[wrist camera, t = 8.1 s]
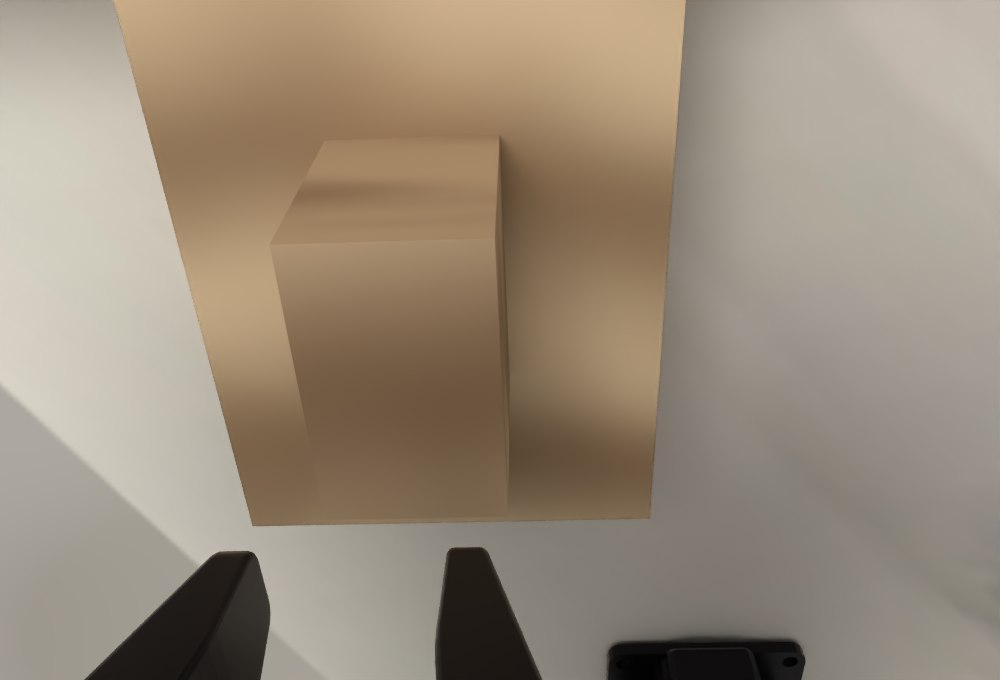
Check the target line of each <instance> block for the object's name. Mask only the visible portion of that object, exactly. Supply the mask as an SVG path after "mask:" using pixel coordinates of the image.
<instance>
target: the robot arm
mask: <svg viewBox="0 0 1000 680" xmlns="http://www.w3.org/2000/svg"><path fill="white" fill-rule="evenodd" d="M269 625H270V603H269V599H268V595H267V591H266V588H265V584H264V580H263V576H262V573H261V569H260V565H259V561H258V559H257V557H256V555H255V554H254V553H252V552H249V551H227V552H218V553H216V554H214V555H212V556H211V557H210V558H209V559H208V560H207V561H206V562H205V563H203V564H202V565H201V566H200V567H199V568H198V569H197V570H196V571H195V572H194V573H193V574H192V575H191V576H190V577H189V578H188V579H187V580H186V581H185V582H184V583H183V584H182V585H181V586H180V587H179V588H178V589H177V590H176V591H175V592H174V593H173V594H172V595H171V596H170V597H169V598H168V599H167V600H166V601H165V602H163V604H162V605H160V606H159V607H158V608H157V609H156V610H155V611H154V612H153V613H152V614H151V615H150V616H149V617H148V618H147V619H146V620H145V621H144V622H143V623H142V624H141V625H140V626H139V627H138V628H137V629H136V630H135V631H134V632H133V633H132V634H131V635H130V636H129V637H128V638H127V639H126V640H125V641H123V642H122V644H120V645H119V646H118V647H117V648H116V649H115V650H114V651H113V652H112V653H111V654H110V655H109V656H108V657H107V658H106V659H105V660H104V661H103V662H102V663H101V664H100V665H99V666H98V667H97V668H96V669H95V670H94V671H93V672H92V673H91V674H90V675H89V676H88V677H87V678H86V679H85V680H260V679H261V673H262V668H263V661H264V656H265V650H266V644H267V638H268V632H269ZM804 665H805V657H804V654H803V651H802V648H801V647H800V645H798V644H796V643H792V642H760V643H691V644H623V645H617V646H614V647H612V648H611V649H610V650H609V651H608V654H607V680H801V678H802V674H803V670H804ZM435 667H436V680H542V678H541V676H540V673H539V671H538V669H537V666H536V664H535V662H534V659H533V657H532V655H531V652H530V650H529V648H528V645H527V643H526V640H525V638H524V636H523V633H522V631H521V629H520V626H519V624H518V622H517V619H516V617H515V615H514V612H513V610H512V608H511V605H510V603H509V601H508V598H507V596H506V594H505V591H504V589H503V587H502V584H501V582H500V580H499V577H498V575H497V573H496V570H495V568H494V566H493V563H492V561H491V559H490V556H489V554H488V552H487V551H486V550H485V549H484V548H481V547H469V548H451V549H450V550H449V551H448V553H447V557H446V563H445V571H444V578H443V585H442V593H441V600H440V607H439V615H438V622H437V629H436V640H435Z"/></svg>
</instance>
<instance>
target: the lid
mask: <svg viewBox="0 0 1000 680" xmlns="http://www.w3.org/2000/svg"><path fill="white" fill-rule="evenodd" d="M685 3H686V0H114V4H115V8H116V11H117V15H118V19H119V23H120V27H121V30H122V34H123V38H124V42H125V45H126V49H127V53H128V57H129V61H130V64H131V68H132V72H133V76H134V79H135V83H136V87H137V91H138V95H139V98H140V102H141V106H142V110H143V113H144V117H145V121H146V125H147V129H148V132H149V136H150V140H151V144H152V147H153V151H154V155H155V159H156V162H157V166H158V170H159V174H160V178H161V181H162V185H163V189H164V193H165V196H166V200H167V204H168V208H169V212H170V215H171V219H172V223H173V227H174V230H175V234H176V238H177V242H178V246H179V249H180V253H181V257H182V261H183V264H184V268H185V272H186V276H187V280H188V283H189V287H190V291H191V295H192V298H193V302H194V306H195V310H196V314H197V317H198V321H199V325H200V329H201V332H202V336H203V340H204V344H205V347H206V351H207V355H208V359H209V363H210V366H211V370H212V374H213V378H214V381H215V385H216V389H217V393H218V397H219V400H220V404H221V408H222V412H223V415H224V419H225V423H226V427H227V431H228V434H229V438H230V442H231V446H232V449H233V453H234V457H235V461H236V465H237V468H238V472H239V476H240V480H241V483H242V487H243V491H244V495H245V499H246V502H247V506H248V510H249V514H250V517H251V521H252V525H253V526H285V525H337V524H390V523H442V522H494V521H546V520H598V519H650V505H651V490H652V476H653V462H654V447H655V433H656V419H657V404H658V390H659V376H660V361H661V347H662V333H663V318H664V304H665V290H666V275H667V261H668V247H669V232H670V218H671V204H672V189H673V175H674V161H675V146H676V132H677V118H678V104H679V89H680V75H681V61H682V46H683V32H684V18H685Z"/></svg>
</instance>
